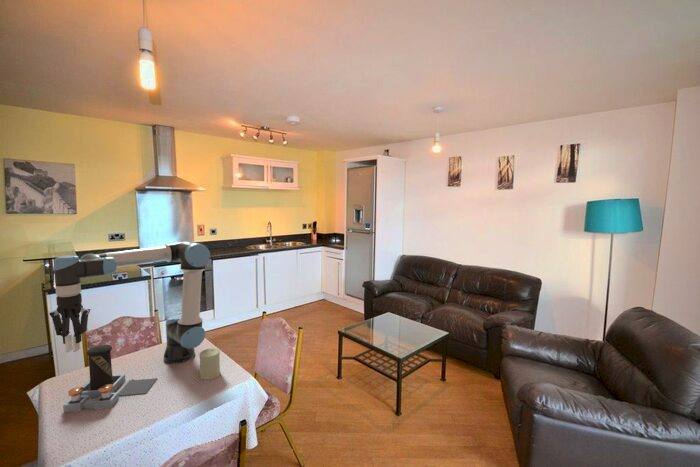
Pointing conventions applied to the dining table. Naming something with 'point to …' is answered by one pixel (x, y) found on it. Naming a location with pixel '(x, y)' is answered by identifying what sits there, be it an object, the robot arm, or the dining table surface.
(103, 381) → the container
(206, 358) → the can
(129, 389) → the pad
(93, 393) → the filter socket
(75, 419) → the dining table surface
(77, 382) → the dining table surface
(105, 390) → the plunger
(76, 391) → the plunger
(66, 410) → the plunger base
